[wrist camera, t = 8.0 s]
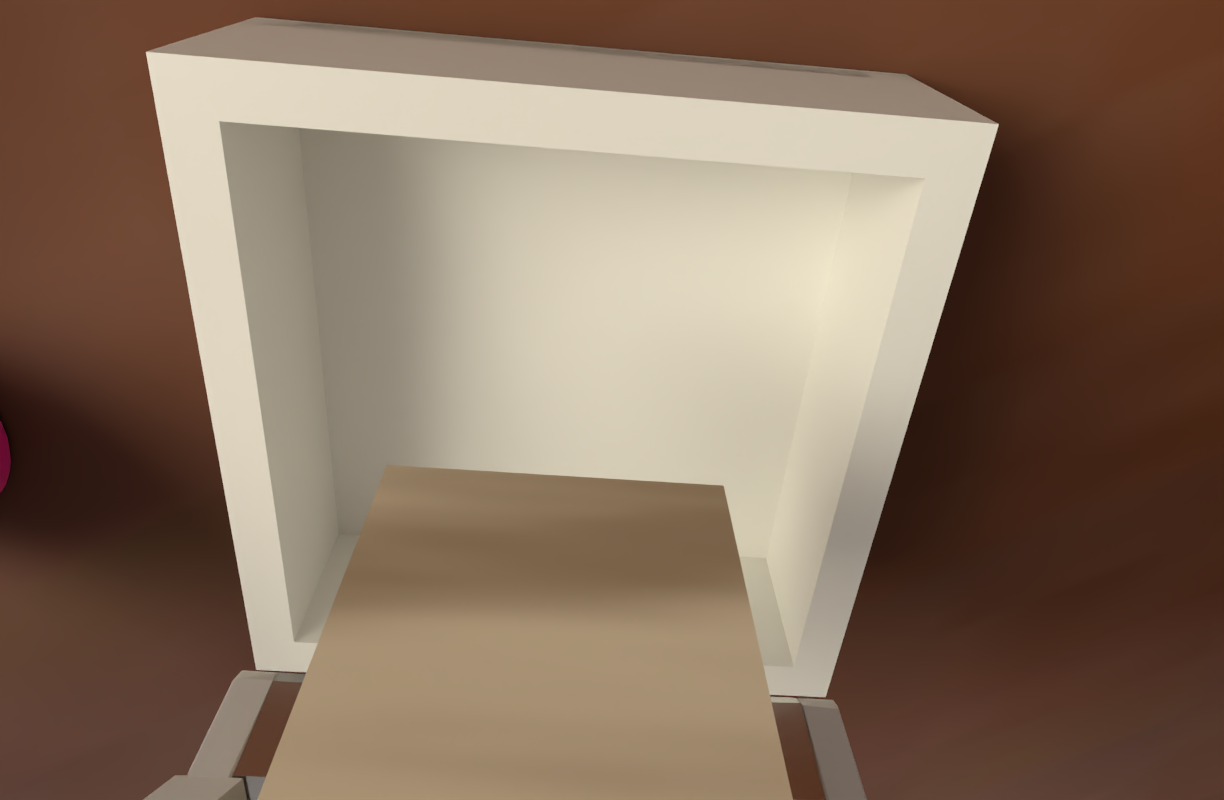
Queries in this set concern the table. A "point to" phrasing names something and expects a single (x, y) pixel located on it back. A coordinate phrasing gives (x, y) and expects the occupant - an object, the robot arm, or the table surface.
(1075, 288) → the table surface
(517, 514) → the birch block
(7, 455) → the pepper mill
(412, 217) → the serving bin
